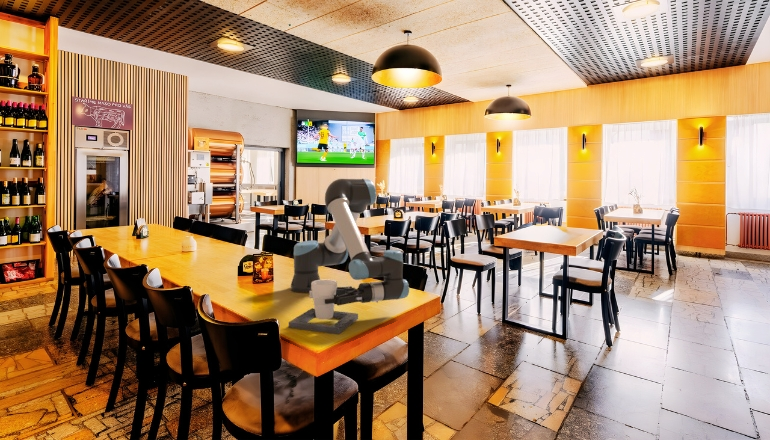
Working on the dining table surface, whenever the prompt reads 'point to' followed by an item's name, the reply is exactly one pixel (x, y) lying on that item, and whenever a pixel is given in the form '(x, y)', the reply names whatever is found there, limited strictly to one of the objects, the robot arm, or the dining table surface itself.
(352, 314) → the square frame
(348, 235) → the robot arm
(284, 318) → the dining table surface
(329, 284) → the foam cup
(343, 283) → the dining table surface
